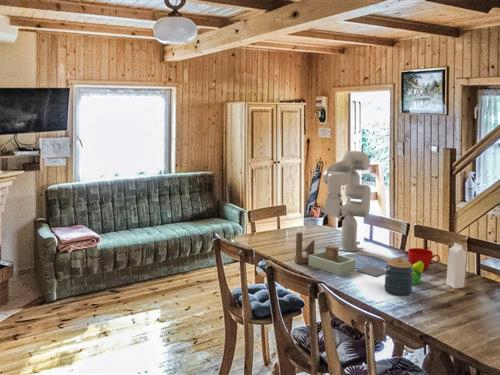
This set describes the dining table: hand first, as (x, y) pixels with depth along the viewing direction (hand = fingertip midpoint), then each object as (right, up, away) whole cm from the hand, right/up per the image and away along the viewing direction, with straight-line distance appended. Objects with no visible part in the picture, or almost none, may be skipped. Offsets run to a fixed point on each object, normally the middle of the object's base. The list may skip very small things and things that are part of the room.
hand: (332, 225), depth 255 cm
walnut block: (0, -24, +4) cm, 24 cm away
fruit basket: (+39, -28, -17) cm, 51 cm away
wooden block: (-14, -23, +12) cm, 30 cm away
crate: (0, -24, +4) cm, 24 cm away
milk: (+58, -29, -23) cm, 69 cm away
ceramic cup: (+52, -25, +3) cm, 57 cm away
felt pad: (+22, -25, -2) cm, 33 cm away
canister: (+26, -30, -31) cm, 50 cm away
